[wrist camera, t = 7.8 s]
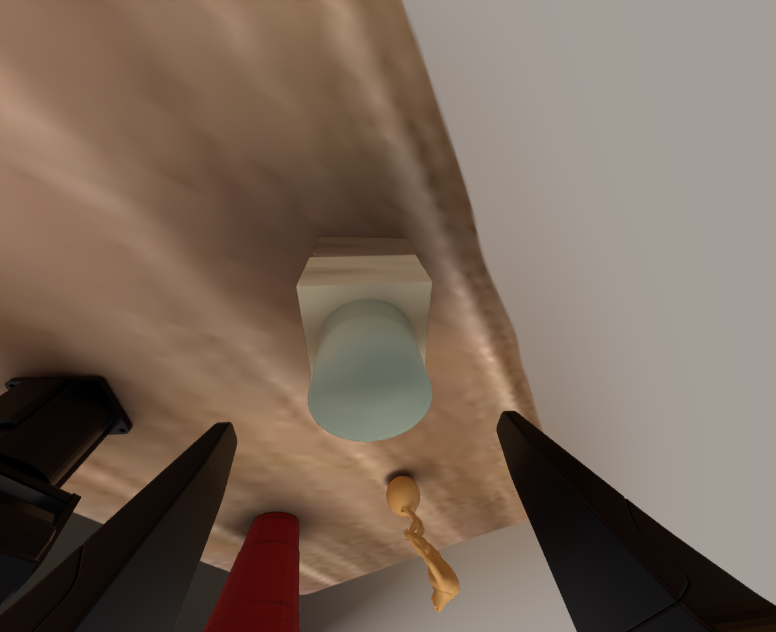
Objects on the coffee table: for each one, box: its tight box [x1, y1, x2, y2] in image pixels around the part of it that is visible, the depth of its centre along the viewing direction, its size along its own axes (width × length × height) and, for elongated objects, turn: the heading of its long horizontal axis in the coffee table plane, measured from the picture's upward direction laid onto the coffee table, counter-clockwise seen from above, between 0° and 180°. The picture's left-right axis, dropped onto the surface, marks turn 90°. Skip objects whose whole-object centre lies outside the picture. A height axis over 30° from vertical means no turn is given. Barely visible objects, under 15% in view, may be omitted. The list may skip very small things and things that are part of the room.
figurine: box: [386, 476, 459, 612], centre depth 29 cm, size 8×6×12 cm
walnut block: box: [312, 236, 418, 258], centre depth 19 cm, size 6×6×4 cm
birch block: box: [296, 255, 432, 375], centre depth 15 cm, size 6×6×4 cm
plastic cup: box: [202, 512, 300, 632], centre depth 31 cm, size 11×11×12 cm
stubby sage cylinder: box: [308, 299, 432, 442], centre depth 12 cm, size 5×5×4 cm
